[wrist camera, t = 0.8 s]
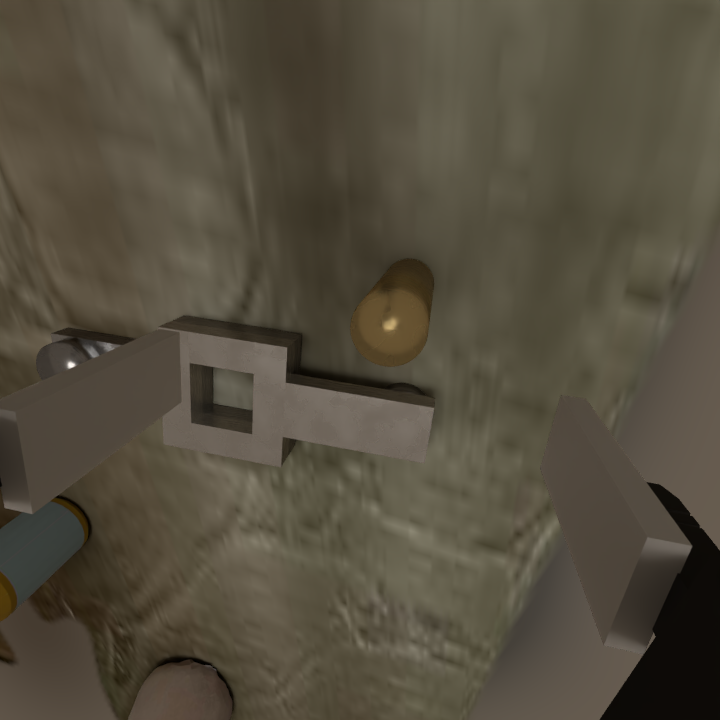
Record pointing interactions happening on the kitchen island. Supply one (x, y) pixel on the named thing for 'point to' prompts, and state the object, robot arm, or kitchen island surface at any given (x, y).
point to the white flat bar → (264, 396)
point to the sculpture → (183, 694)
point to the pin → (395, 315)
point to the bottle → (37, 549)
